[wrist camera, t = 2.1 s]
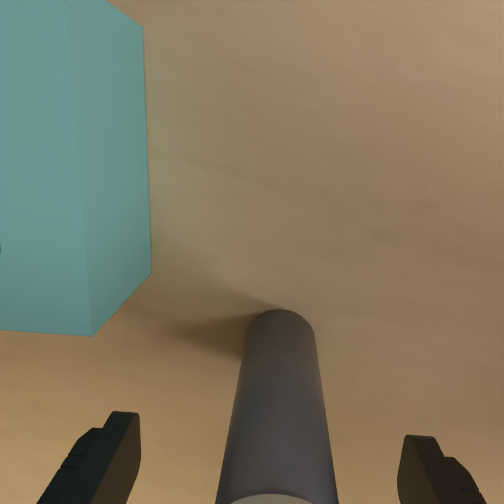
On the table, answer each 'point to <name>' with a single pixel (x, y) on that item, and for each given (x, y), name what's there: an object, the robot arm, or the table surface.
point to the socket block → (71, 165)
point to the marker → (278, 420)
